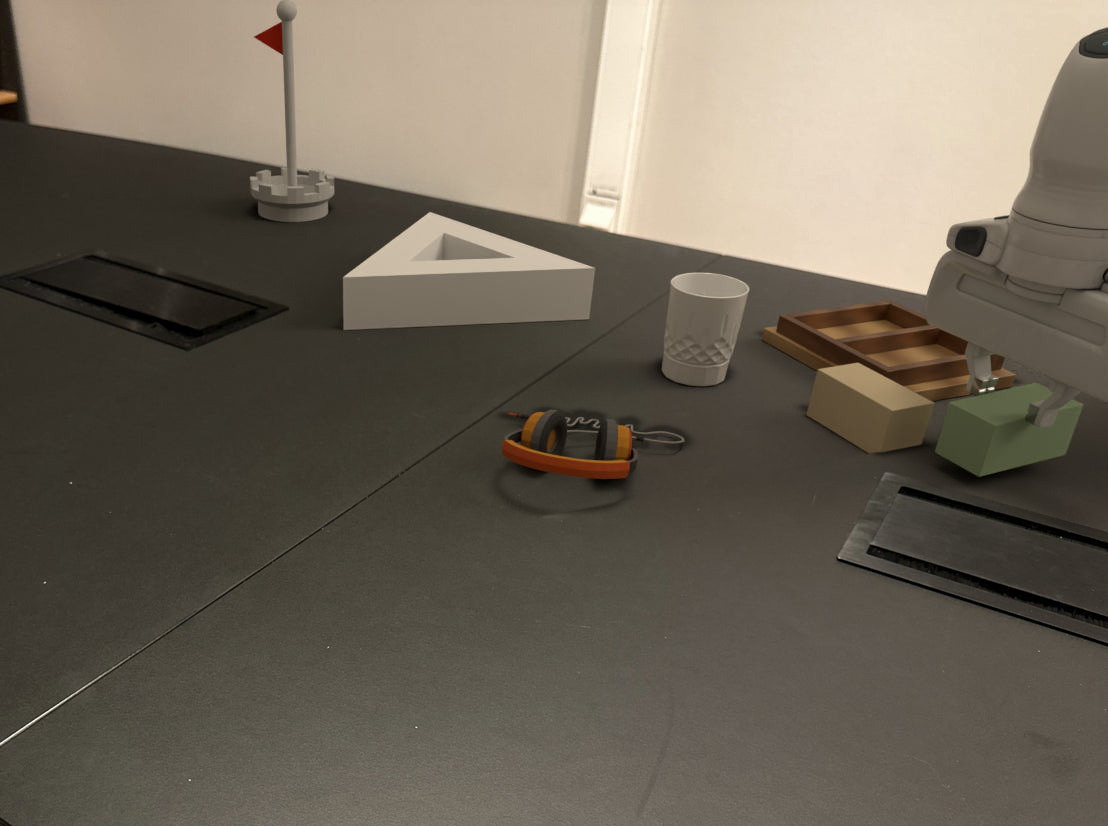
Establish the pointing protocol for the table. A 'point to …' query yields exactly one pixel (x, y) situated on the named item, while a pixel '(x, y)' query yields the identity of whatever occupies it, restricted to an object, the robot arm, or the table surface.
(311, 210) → the flag stand
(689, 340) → the white cup
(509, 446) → the headphones
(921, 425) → the beige block
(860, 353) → the wooden tray
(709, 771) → the table surface
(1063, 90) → the robot arm
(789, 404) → the table surface
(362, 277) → the triangle block
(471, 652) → the table surface
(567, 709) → the table surface
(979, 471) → the sage block
